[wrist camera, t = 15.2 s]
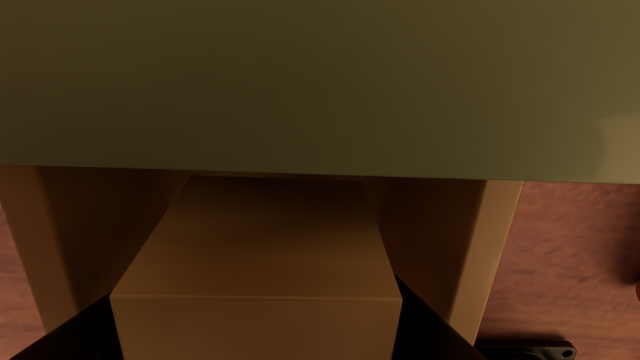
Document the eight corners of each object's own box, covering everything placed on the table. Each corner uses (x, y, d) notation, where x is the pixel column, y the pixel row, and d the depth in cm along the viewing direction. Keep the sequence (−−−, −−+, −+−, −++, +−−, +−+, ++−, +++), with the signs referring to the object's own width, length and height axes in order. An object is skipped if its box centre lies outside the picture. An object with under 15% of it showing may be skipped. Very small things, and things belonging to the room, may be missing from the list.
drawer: (388, 352, 18) (436, 548, 12) (171, 351, 18) (91, 559, 11) (463, -65, 11) (711, -178, 4) (101, -92, 10) (-260, -272, 4)
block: (362, 180, 9) (404, 300, 5) (347, 309, 10) (371, 468, 7) (190, 174, 9) (106, 296, 5) (203, 307, 10) (148, 471, 7)
